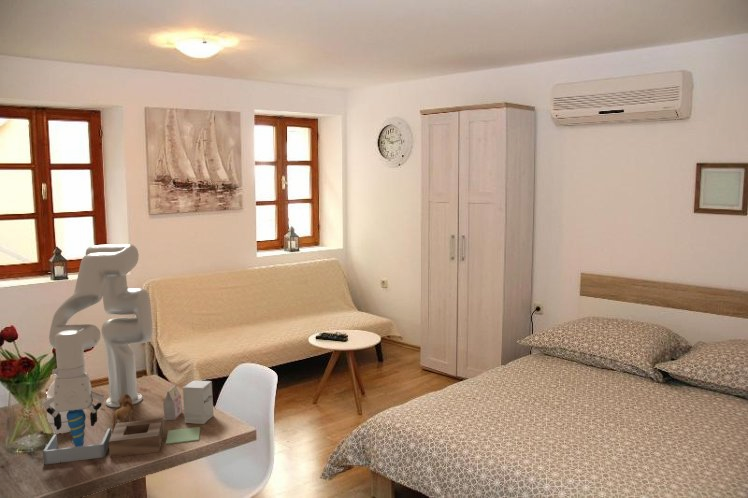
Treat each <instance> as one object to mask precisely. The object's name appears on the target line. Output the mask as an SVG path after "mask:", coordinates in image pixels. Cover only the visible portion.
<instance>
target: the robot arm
mask: <svg viewBox="0 0 748 498" xmlns="http://www.w3.org/2000/svg"><path fill="white" fill-rule="evenodd" d="M138 261H139V250H138V248H137V246H135V245H134V244H129V243H123V244H122V243H120V244H118V243H117V244H98V245H91V246H89V247H87V248H86V250H85V255H84V256H83V257H82V259H81V261H80V265H79V268H78V269H79V270H78V274H77V277H76V282H75V286H74V287H75V289H74V292H73V294H72V295H71V296H70V297H68V298H67V299H66V300H65V301H64V302H63V303H62V304H61V305H60V306H59V307H58V308H57V310H56V311H55V313H54V315H53V317H52V320H51V324H50V328H49V329H50V330H49V335H48V336H49V337H48V339H49V344H50V346H51V348H53V349H55V358H56V368H53V369H52V371H51V373H52V375H54V374H57V377H54V380H55V383H54V397H52V398H50V399H48V400H47V401H45V400H44V401H45V402H44V401H43V403H42V405H41V406H42V408H43V407H44V408H45V409H46V411H47V412H48V413H49V414H51V415H52V417H54V426H56V429H57V430H59V429H60V428H61V426H62V423H61V414H59V412H62V411H73V410H82V409H83V410H87V409H88V410H89V411H90V413H89V419H90V427H94V426H95V424H96V423H97V422H98V415H97V413H98V410H99V409H100V408H101V407H102V405H103V403H104V400H106V401H105V404H106V406H107V407H110V408H120V404H119V403H118V400H119V399H120V397H121V396H122V394H128V395H129V396H130V397H131V399H132V403H133V406H134V405H136V404H139V403H140V402H141V401H142V400H143V395H142V394H141V393H139V392H138V384H137V383H138V382H137V369H136V357H135V352H134V350H133V348H132V347H131V346H130V345H129V344H134V345H135V344H145V343H148V342H150V341H151V340H152V337H153V331H154V330H153V329H154V328H153V327H154V326H153V316H152V305H151V298H150V294H149V292H148V291H147V290H146V289H145V288H143V287H142V288H140V287H137V288H135V287H134V288H129V287H128V282H127V275H128V274H129V273H130V272H131V271H132V270H133V269H134V268H135V267H136V266H137V264H138ZM101 300H102V301H103V309H104V311H105V313H106V314H107V315H110V316H111V315H112V316H124V315H125V316H127V315H129V316H130V315H134V316H135V317H114V318H110V319H107V320H105V321H104V322H103V323H102V325H101V329H100V328H99V327H98V326H97V325H94V324H68V322H69V320H70V319H71V318H72V317H73V316H74V315H76V314H77V313H79V312H81V311H84V310H86V309H87V308H90V307H92V306H94V305H97V304H98V303H99V302H101ZM100 330H101V331H100ZM101 336H102V340H103V343H104V348H105V354H106V364H107V365H106V367H107V377H108V386H109V388H108V389H109V397H108V398H107V399H106V396H105V395H103V394H100V393H97V392H94V391H93V388H92V383H91V380H90V376H89V373H87V372H86V363H85V352H84V351H87V350H89V349H92V347H93V348H95V346H97V345H98V343H99V342H100V339H101ZM94 399H95V400H98V402H97V403H96V404H95V403H94ZM52 402H54V408H55V409H53V408H52V407H51V406H50V404H51V403H52Z"/></svg>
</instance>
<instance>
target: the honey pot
mask: <svg viewBox="0 0 748 498" xmlns="http://www.w3.org/2000/svg"><path fill="white" fill-rule="evenodd" d="M53 375H54V378H56V377H57V374H53ZM54 383H55V379H54V380H52V383H50V385H49V387H48V389H47V391H45V392H46V394H47V400H48V399H50V398H52V397H54ZM50 406H51V407H52V408H53V409H55V408H54V402H52V403H51V404H50ZM68 412H69V411H62V412H59V414H61V423H62V426H61V428H60V429H59V430H57V429H56V426H54V417H52V415H51V414H49V413H48V412H47V419H48V422H49V423H50V425H51V427H52V429H53V431H54V432H55V433H56V434H57V435H58V434H59V433H61V434H65V433H68V432H69V433H70V430H71V429H70V427H69V425H68V419H67V417H66V415H67V413H68Z"/></svg>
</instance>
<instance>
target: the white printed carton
mask: <svg viewBox="0 0 748 498" xmlns="http://www.w3.org/2000/svg"><path fill="white" fill-rule="evenodd" d="M182 413H183V404H182V395H181V394H180V392H179V390H178V388H177V384H175V385H173V386H172V387H171V388H170V389H169V390H168V391H167V393H166V396H165V399H164V401H163V414H164V421H176V419H177V418H179V417H180V415H181V414H182Z"/></svg>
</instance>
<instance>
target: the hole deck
mask: <svg viewBox="0 0 748 498" xmlns="http://www.w3.org/2000/svg"><path fill="white" fill-rule="evenodd" d="M164 433H165V432H164V421H163V417H162V418H161V417H160V418H153V419H144V420H143V419H142V420H133V421H131V422H130V421H125V422H124V423H121V422H117V424H116V426H115V428H114V431H113V432H111V437H110V440H109V448H108V450H109V458H115V457H125V456H134V455H142V454H149V453H150V454H151V453H157V452H158V453H159V452H160V449H161V446H162V442H163V437H164Z"/></svg>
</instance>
